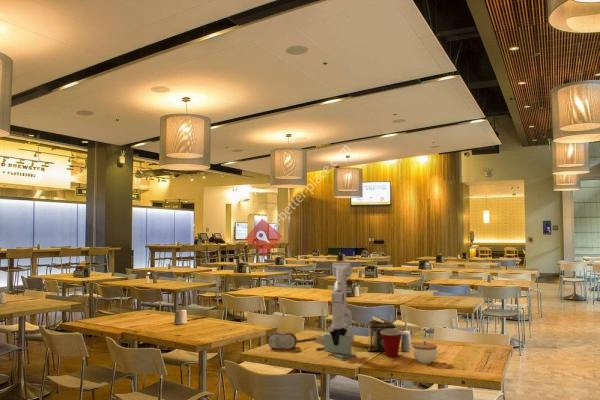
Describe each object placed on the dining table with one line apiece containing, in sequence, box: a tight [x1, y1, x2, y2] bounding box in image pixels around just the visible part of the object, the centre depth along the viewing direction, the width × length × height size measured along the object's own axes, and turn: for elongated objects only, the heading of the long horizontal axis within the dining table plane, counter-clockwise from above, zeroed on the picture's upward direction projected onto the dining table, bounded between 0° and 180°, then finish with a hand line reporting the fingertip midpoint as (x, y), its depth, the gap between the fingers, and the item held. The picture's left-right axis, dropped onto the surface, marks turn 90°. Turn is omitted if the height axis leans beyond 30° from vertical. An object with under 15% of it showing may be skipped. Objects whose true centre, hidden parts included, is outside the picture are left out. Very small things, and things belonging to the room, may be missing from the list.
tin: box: [267, 331, 298, 350], centre depth 262 cm, size 15×3×8 cm, turn 84°
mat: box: [328, 353, 357, 360], centre depth 250 cm, size 9×17×1 cm, turn 33°
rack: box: [297, 337, 324, 351], centre depth 268 cm, size 18×23×2 cm
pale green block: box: [323, 333, 352, 355], centre depth 251 cm, size 3×14×8 cm, turn 51°
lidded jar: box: [412, 340, 438, 364], centre depth 236 cm, size 11×11×9 cm
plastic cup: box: [379, 328, 403, 358], centre depth 248 cm, size 11×11×12 cm
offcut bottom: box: [315, 337, 324, 345], centre depth 271 cm, size 5×12×2 cm, turn 33°
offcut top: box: [318, 333, 325, 340], centre depth 271 cm, size 4×10×2 cm, turn 39°
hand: (338, 344), depth 250 cm, fingers closed on pale green block, 3 cm apart
